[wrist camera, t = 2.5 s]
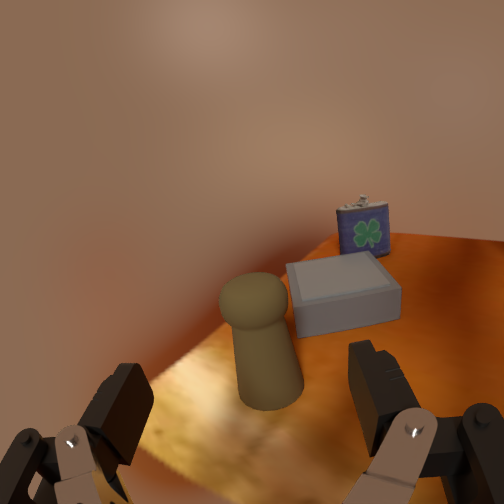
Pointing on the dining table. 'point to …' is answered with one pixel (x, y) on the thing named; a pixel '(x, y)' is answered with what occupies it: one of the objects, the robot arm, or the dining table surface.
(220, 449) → the dining table surface
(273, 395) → the cork
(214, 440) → the dining table surface
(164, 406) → the dining table surface
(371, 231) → the flask
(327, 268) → the gray rectangular box
